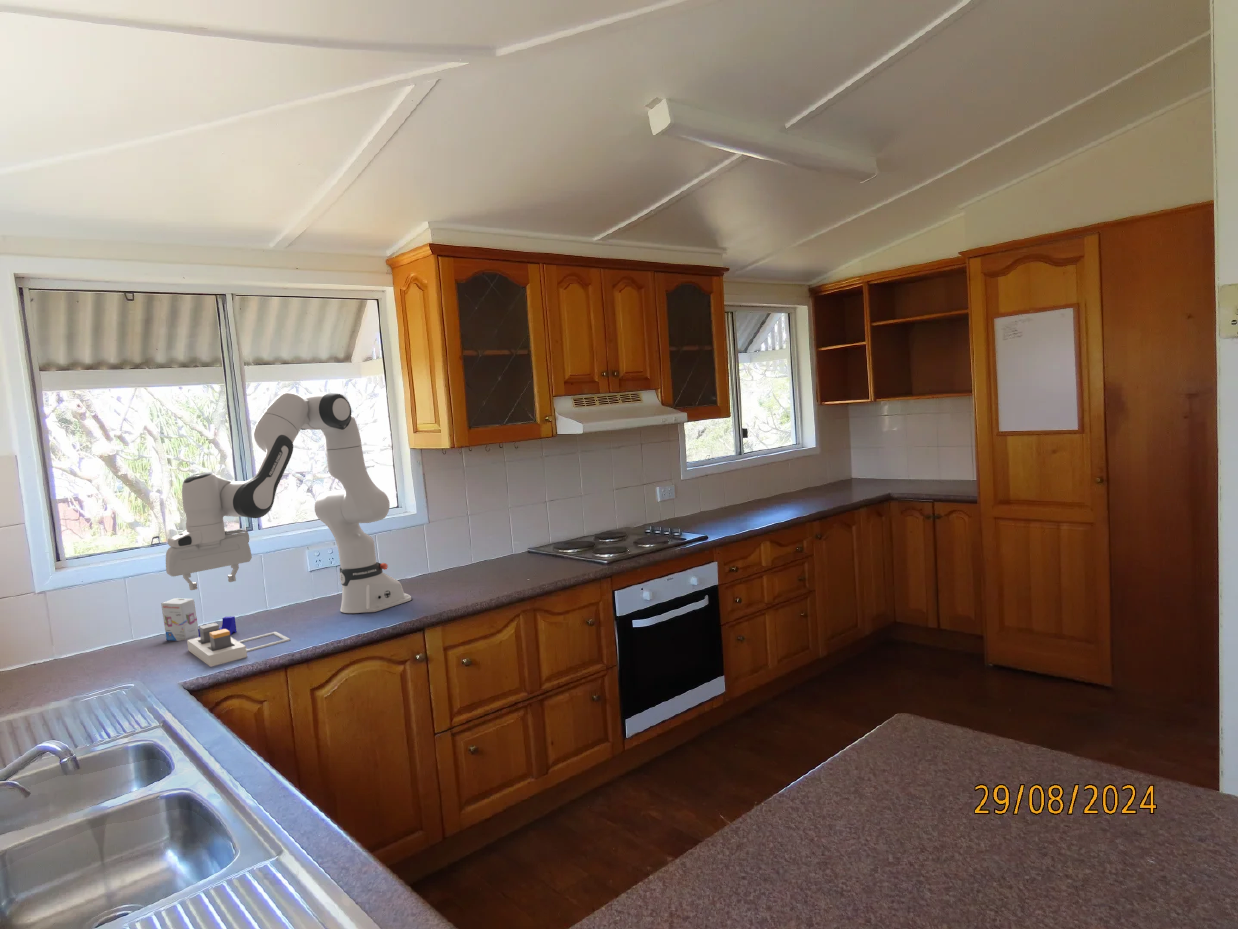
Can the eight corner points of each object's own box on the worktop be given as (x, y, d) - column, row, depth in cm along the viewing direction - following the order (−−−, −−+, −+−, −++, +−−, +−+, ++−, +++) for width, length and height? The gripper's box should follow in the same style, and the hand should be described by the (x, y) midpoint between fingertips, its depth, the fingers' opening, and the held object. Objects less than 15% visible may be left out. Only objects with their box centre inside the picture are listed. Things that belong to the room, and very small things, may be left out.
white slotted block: (223, 645, 221) (221, 631, 221) (247, 660, 205) (245, 646, 205) (188, 654, 215) (187, 640, 215) (210, 670, 199) (209, 655, 199)
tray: (276, 636, 226) (275, 631, 226) (290, 643, 217) (290, 638, 217) (232, 647, 218) (231, 642, 218) (245, 655, 209) (245, 650, 209)
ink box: (165, 640, 231) (159, 602, 230) (179, 635, 236) (174, 597, 235) (186, 641, 228) (180, 602, 227) (200, 636, 233) (195, 598, 232)
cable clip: (223, 636, 232) (221, 616, 231) (237, 635, 231) (234, 616, 230) (195, 649, 220) (193, 629, 219) (210, 649, 219) (207, 628, 218)
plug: (228, 653, 209) (225, 628, 209) (232, 656, 206) (229, 631, 206) (212, 657, 207) (209, 632, 206) (216, 660, 204) (213, 635, 203)
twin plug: (217, 646, 217) (214, 622, 216) (221, 649, 214) (218, 625, 213) (202, 650, 214) (198, 626, 213) (206, 653, 211) (202, 628, 210)
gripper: (244, 526, 213) (250, 575, 214) (160, 540, 199) (167, 592, 200) (251, 528, 208) (257, 578, 209) (166, 542, 194) (173, 596, 196)
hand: (213, 585), depth 205 cm, fingers open, 8 cm apart
